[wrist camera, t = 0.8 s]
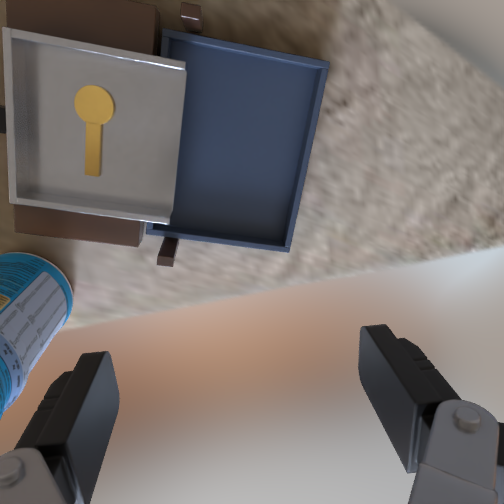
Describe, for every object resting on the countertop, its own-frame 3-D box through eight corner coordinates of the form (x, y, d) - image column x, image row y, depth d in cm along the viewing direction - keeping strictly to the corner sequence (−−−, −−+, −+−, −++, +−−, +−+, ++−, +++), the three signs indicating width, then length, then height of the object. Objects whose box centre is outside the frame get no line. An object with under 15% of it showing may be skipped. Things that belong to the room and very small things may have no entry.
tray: (165, 32, 29) (162, 27, 27) (323, 63, 31) (330, 61, 29) (149, 227, 34) (145, 234, 32) (285, 245, 36) (289, 253, 34)
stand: (18, -18, 27) (-23, -42, 22) (203, 21, 29) (201, 5, 24) (25, 225, 33) (-7, 245, 28) (178, 244, 35) (172, 267, 30)
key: (76, 81, 27) (74, 81, 27) (115, 88, 27) (114, 88, 27) (74, 172, 29) (72, 173, 29) (111, 177, 30) (109, 178, 29)
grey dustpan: (-97, 10, 25) (-129, 1, 23) (188, 64, 28) (185, 61, 25) (-78, 181, 29) (-103, 188, 27) (172, 215, 31) (169, 224, 29)
